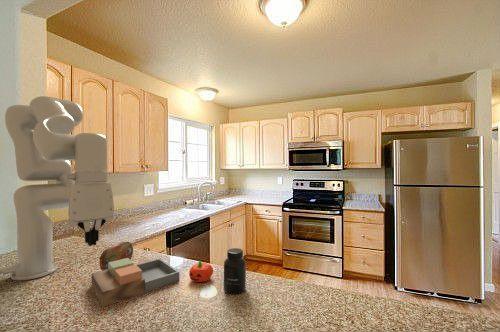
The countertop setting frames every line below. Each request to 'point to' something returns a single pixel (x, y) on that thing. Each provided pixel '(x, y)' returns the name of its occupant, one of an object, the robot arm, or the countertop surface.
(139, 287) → the tan slab
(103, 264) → the tin
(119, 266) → the tile
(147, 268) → the box
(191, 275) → the pumpkin
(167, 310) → the countertop surface
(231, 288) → the supplement bottle
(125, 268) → the tile
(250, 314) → the countertop surface
